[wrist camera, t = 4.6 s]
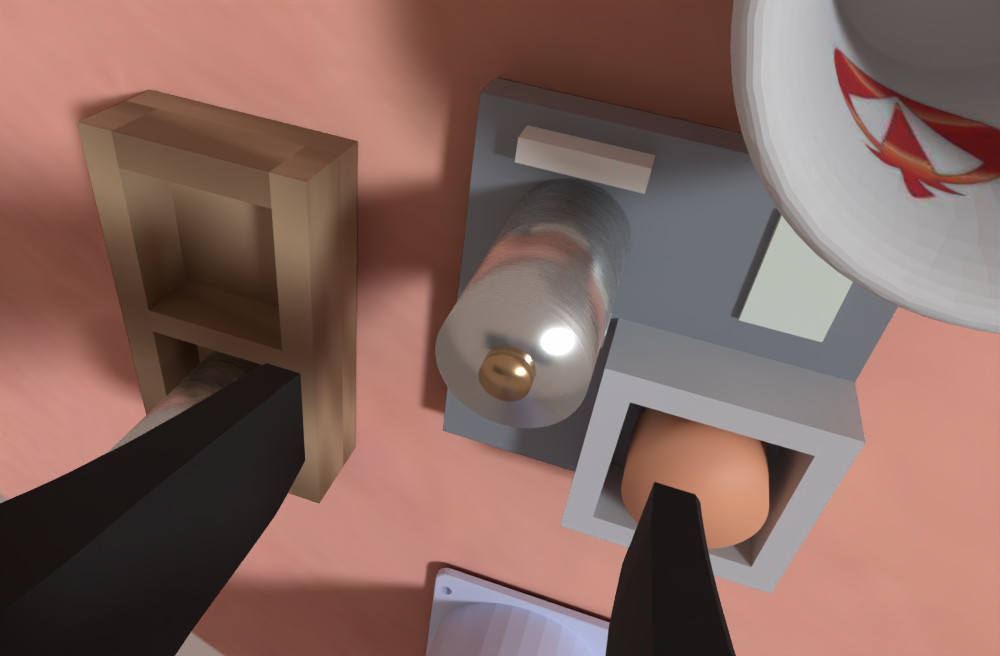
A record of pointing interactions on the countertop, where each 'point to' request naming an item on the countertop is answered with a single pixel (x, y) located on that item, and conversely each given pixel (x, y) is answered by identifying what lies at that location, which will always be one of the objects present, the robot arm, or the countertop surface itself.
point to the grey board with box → (682, 314)
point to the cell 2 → (537, 307)
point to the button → (700, 473)
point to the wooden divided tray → (234, 253)
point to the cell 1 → (193, 390)
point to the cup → (881, 141)
